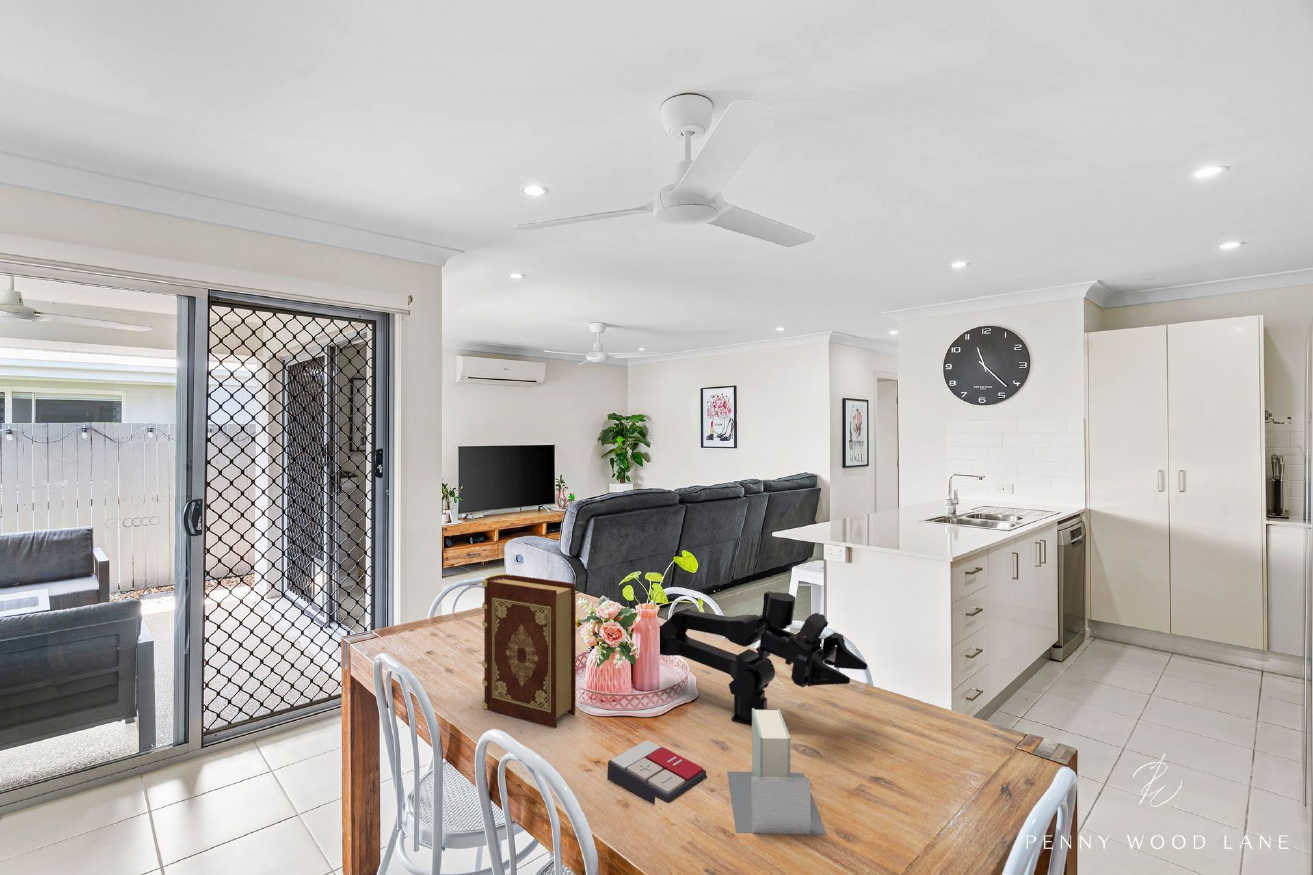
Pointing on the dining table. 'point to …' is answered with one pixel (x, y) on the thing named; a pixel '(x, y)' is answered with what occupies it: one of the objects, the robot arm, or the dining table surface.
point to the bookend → (780, 805)
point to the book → (770, 744)
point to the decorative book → (529, 647)
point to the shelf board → (742, 804)
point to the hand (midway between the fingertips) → (858, 673)
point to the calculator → (654, 772)
